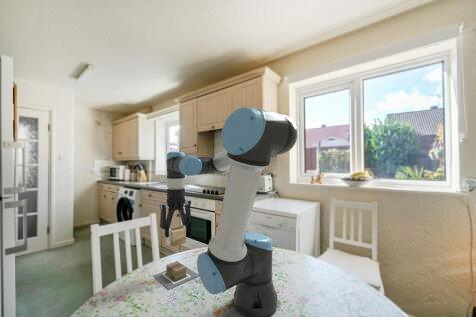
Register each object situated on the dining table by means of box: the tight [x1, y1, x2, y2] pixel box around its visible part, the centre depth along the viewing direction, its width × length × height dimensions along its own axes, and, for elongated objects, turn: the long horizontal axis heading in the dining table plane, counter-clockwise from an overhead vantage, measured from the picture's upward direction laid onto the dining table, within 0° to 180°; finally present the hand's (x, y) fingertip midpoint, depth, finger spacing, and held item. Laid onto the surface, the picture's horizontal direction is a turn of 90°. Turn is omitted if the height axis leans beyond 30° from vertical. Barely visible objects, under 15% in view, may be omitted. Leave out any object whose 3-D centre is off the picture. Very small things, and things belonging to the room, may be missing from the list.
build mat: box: [152, 263, 200, 291], centre depth 92 cm, size 14×14×1 cm
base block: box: [165, 260, 187, 281], centre depth 92 cm, size 8×5×4 cm, turn 45°
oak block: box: [165, 225, 187, 248], centre depth 93 cm, size 6×6×6 cm
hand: (176, 242), depth 93 cm, fingers closed on oak block, 6 cm apart
